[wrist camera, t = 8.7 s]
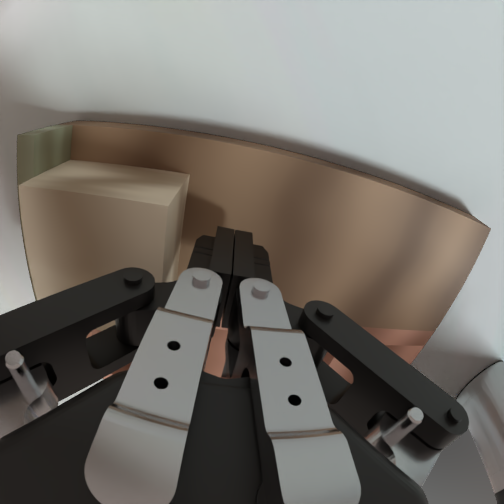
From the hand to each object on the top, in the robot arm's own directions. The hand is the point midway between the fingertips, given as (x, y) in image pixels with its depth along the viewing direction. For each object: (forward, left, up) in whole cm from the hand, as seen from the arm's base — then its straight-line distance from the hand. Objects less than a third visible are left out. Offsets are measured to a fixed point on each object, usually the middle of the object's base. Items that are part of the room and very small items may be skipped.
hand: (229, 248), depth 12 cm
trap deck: (-3, +5, -3) cm, 7 cm away
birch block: (+5, 0, -1) cm, 5 cm away
